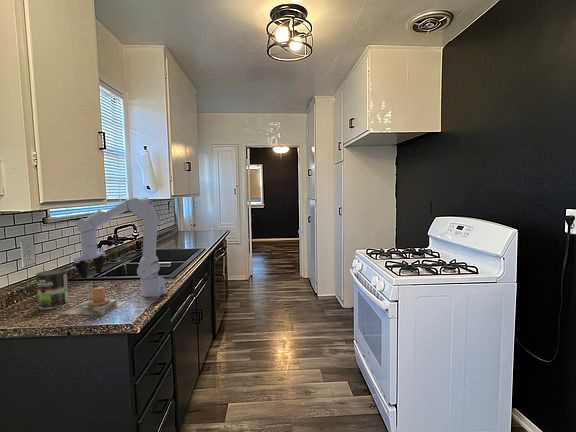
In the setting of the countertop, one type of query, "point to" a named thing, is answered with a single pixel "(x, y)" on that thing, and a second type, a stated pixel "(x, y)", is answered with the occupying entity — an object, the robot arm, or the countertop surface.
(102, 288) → the end cover
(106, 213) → the robot arm
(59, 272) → the coffee can
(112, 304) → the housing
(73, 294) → the countertop surface
